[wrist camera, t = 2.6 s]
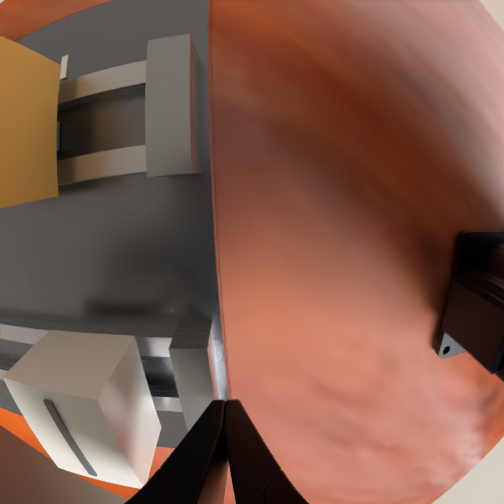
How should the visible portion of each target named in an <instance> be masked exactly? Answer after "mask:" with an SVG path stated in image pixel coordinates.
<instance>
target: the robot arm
mask: <svg viewBox="0 0 504 504" xmlns="http://www.w3.org/2000/svg"><path fill="white" fill-rule="evenodd" d="M466 239H467V242H466V244H465V240H466ZM435 352H436V354H437V355H438V356H439V357H440V358H441V359H442V358H447V357H450V356H454V355H457V354H460V353H464V352H467V353H468V354H469V355H470V356H471V357H473V358H474V359H475V360H476V361H477V362H478V363H479V364H480V365H481V366H482V367H483V368H484V369H485V370H486V371H487V372H488V373H490V374H495V375H496V376H497V377H498V378H499V379H500V380H501V381H502V382H503V383H504V230H463V231H461V232H460V233H459V234H458V236H457V239H456V245H455V253H454V261H453V268H452V275H451V281H450V287H449V292H448V298H447V303H446V307H445V312H444V317H443V321H442V325H441V329H440V333H439V337H438V341H437V345H436V348H435ZM228 462H229V466H230V472H231V478H232V484H233V489H234V495H235V500H236V504H309V503H308V502H307V501H306V500H305V499H304V498H303V497H302V495H301V494H300V493H299V492H298V491H297V490H296V489H295V487H294V486H293V485H292V483H291V482H290V480H289V479H288V478H287V476H286V475H285V473H284V472H283V470H281V467H280V466H279V464H278V463H277V461H276V460H275V458H274V457H273V455H272V453H271V452H270V450H269V449H268V447H267V445H266V444H265V442H264V441H263V439H262V437H261V436H260V434H259V433H258V431H257V429H256V428H255V426H254V424H253V423H252V421H251V419H250V417H249V416H248V414H247V412H246V411H245V409H244V407H243V405H242V404H241V402H240V400H238V399H230V400H226V401H225V400H212V401H211V403H210V404H209V405H208V407H207V408H206V409H205V411H204V412H203V413H202V415H201V416H200V417H199V418H198V420H197V421H196V422H195V424H194V425H193V426H192V428H191V429H190V430H189V431H188V433H187V434H186V435H185V437H184V438H183V439H182V440H181V442H180V443H179V444H178V445H177V447H176V448H175V449H174V451H173V452H172V453H171V454H170V456H169V457H168V458H167V459H166V460H165V462H164V463H163V464H162V465H161V467H160V469H158V470H157V471H156V472H155V474H154V475H153V476H152V477H151V478H150V479H149V481H148V482H147V483H146V484H145V485H144V486H143V487H142V488H141V489H140V490H139V491H138V492H137V493H136V494H135V495H133V496H132V497H131V498H130V499H129V500H128V501H127V502H125V503H124V504H223V501H224V494H225V486H226V479H227V471H228Z"/></svg>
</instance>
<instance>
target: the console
mask: <svg viewBox="0 0 504 504" xmlns="http://www.w3.org/2000/svg"><path fill="white" fill-rule="evenodd" d="M211 29H212V0H114V1H110V2H107V3H104V4H101V5H98V6H95V7H92V8H89V9H86V10H83V11H81V12H78V13H75V14H73V15H70V16H68V17H65V18H63V19H60V20H58V21H56V22H54V23H51V24H49V25H47V26H45V27H43V28H41V29H39V30H37V31H35V32H33V33H31V34H29V35H27V36H25V37H23V38H21V39H19V40H17V41H16V43H18V44H20V45H22V46H24V47H27V48H29V49H31V50H33V51H35V52H37V53H39V54H41V55H43V56H45V57H47V58H48V59H50V60H52V61H54V62H56V63H58V64H60V65H61V73H60V83H59V93H58V107H57V121H59V122H60V124H59V151H57V180H58V195H59V197H54V198H48V199H43V200H38V201H33V202H28V203H23V204H18V205H13V206H9V207H4V208H0V407H1V408H3V409H6V410H8V411H11V412H13V413H16V414H19V415H21V416H23V415H22V413H21V411H20V409H19V408H18V406H17V404H16V402H15V401H14V399H13V397H12V395H11V393H10V391H9V389H8V387H7V385H6V383H5V381H4V379H3V376H4V375H5V374H6V373H7V372H8V371H9V370H10V369H11V368H12V367H13V366H14V365H15V364H16V363H17V362H18V361H19V360H20V359H21V358H22V357H23V356H24V355H25V354H26V353H27V352H28V351H29V350H30V349H31V348H32V347H33V346H34V345H35V344H36V343H37V342H38V341H39V340H40V339H41V338H42V337H43V336H44V335H45V334H46V333H47V332H48V331H50V330H58V331H69V332H81V333H94V334H110V335H132V336H135V338H136V342H137V347H138V351H139V355H140V358H141V362H142V366H143V370H144V373H145V377H146V380H147V384H148V387H149V390H150V394H151V397H152V400H153V403H154V406H155V410H156V413H157V416H158V419H159V421H160V424H161V431H160V434H159V438H158V442H157V445H156V446H158V447H169V448H176V447H177V445H178V444H179V443H180V442H181V440H182V439H183V438H184V437H185V435H186V434H187V433H188V431H189V430H190V429H191V428H192V426H193V425H194V424H195V422H196V421H197V420H198V418H199V417H200V416H201V415H202V413H203V412H204V411H205V409H206V408H207V407H208V405H209V404H210V403H211V401H212V400H225V401H226V400H230V399H232V398H231V389H230V379H229V370H228V359H227V349H226V338H225V327H224V315H223V303H222V290H221V277H220V263H219V248H218V232H217V214H216V195H215V174H214V149H213V117H212V54H211Z"/></svg>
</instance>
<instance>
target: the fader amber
mask: <svg viewBox="0 0 504 504" xmlns="http://www.w3.org/2000/svg"><path fill="white" fill-rule="evenodd" d="M60 73H61V65H60V64H58V63H56V62H54V61H52V60H50V59H48V58H47V57H45V56H43V55H41V54H39V53H37V52H35V51H33V50H31V49H29V48H27V47H24V46H22V45H20V44H18V43H16V42H14V41H12V40H10V39H8V38H5V37H3V36H0V208H4V207H9V206H13V205H18V204H23V203H28V202H33V201H38V200H43V199H48V198H54V197H59V195H58V180H57V151H59V124H60V122H59V121H57V107H58V93H59V83H60Z"/></svg>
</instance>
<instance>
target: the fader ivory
mask: <svg viewBox="0 0 504 504" xmlns="http://www.w3.org/2000/svg"><path fill="white" fill-rule="evenodd" d="M3 379H4V381H5V383H6V385H7V387H8V389H9V391H10V393H11V395H12V397H13V399H14V401H15V402H16V404H17V406H18V408H19V409H20V411H21V413H22V415H23V416H24V418H25V420H26V421H27V423H28V425H29V426H30V428H31V429H32V431H33V432H34V434H35V435H36V437H37V438H38V440H39V441H40V443H41V444H42V446H43V447H44V449H45V450H46V451H47V453H48V454H49V456H50V457H51V458H52V460H53V461H54V462H55V464H56V465H57V466H58V467H59V468H61V469H65V470H67V471H70V472H74V473H77V474H80V475H84V476H87V477H91V478H94V479H98V480H102V481H106V482H110V483H115V484H119V485H124V486H129V487H134V488H140V489H141V488H142V487H143V486H144V485H145V484H146V483H147V480H148V476H149V472H150V468H151V464H152V460H153V457H154V453H155V449H156V445H157V442H158V438H159V434H160V431H161V424H160V421H159V419H158V416H157V413H156V410H155V406H154V403H153V400H152V397H151V394H150V390H149V387H148V384H147V380H146V377H145V373H144V370H143V366H142V362H141V358H140V355H139V351H138V347H137V342H136V338H135V336H132V335H110V334H94V333H81V332H69V331H58V330H50V331H48V332H47V333H46V334H45V335H44V336H43V337H42V338H41V339H40V340H39V341H38V342H37V343H36V344H35V345H34V346H33V347H32V348H31V349H30V350H29V351H28V352H27V353H26V354H25V355H24V356H23V357H22V358H21V359H20V360H19V361H18V362H17V363H16V364H15V365H14V366H13V367H12V368H11V369H10V370H9V371H8V372H7V373H6V374H5V375H4V376H3Z"/></svg>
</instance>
